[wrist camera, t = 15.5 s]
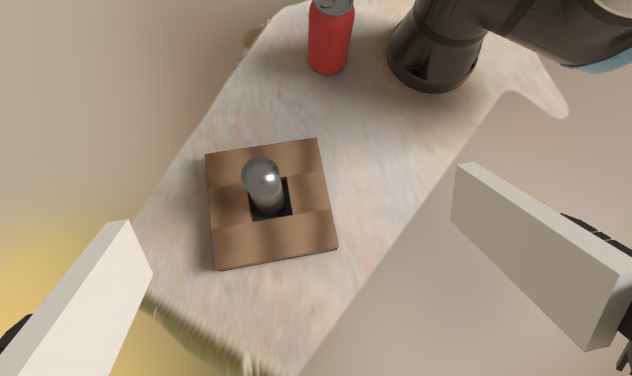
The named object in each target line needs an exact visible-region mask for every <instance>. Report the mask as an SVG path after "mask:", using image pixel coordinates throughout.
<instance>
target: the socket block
mask: <svg viewBox="0 0 632 376" xmlns="http://www.w3.org/2000/svg"><path fill="white" fill-rule="evenodd" d="M255 157H266V158H269V159H271V160H272V161H274V163H275V164H276V165H277V167H278V170H279V175H280V179H281V184H282V189H283V194H284V198H285V208H284V210H283V212H282V213H281V214H280V215H278V216H276V217H266V216H264V215H262V214H261V213H260V212H259V210H258V208H257V207H256V205H255V203H254V201H253V200H252V198H251V196H250V194H249V192H248V191H247V189H246V187H245V185H244V184H243V182H242V179H241V172H242V168H243V166H244V165H245V164H246V163H247V162H248V161H249V160H251V159H253V158H255ZM205 165H206V177H207V188H208V200H209V212H210V224H211V236H212V247H213V259H214V270H217V271H226V270H232V269H237V268H242V267H248V266H253V265H258V264H264V263H269V262H275V261H280V260H285V259H291V258H296V257H301V256H307V255H312V254H318V253H323V252H328V251H334V250H337V249H338V247H339V244H338V239H337V235H336V230H335V225H334V220H333V215H332V210H331V206H330V201H329V196H328V191H327V186H326V182H325V177H324V172H323V167H322V162H321V157H320V153H319V148H318V143H317V138H310V139H303V140H297V141H290V142H283V143H277V144H270V145H263V146H257V147H250V148H243V149H237V150H230V151H223V152H217V153H210V154H205Z"/></svg>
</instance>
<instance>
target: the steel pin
mask: <svg viewBox="0 0 632 376" xmlns="http://www.w3.org/2000/svg"><path fill="white" fill-rule="evenodd" d="M241 179H242V182H243V184H244V185H245V187H246V189H247V191H248V192H249V194H250V196H251V198H252V200H253V201H254V203H255V205H256V207H257V208H258V210H259V212H260V213H261V214H262V215H264V216H266V217H276V216H278V215H280V214H281V213H282V212H283V210H284V208H285V198H284V194H283V189H282V184H281V179H280V175H279V170H278V167H277V165H276V164H275V163H274V161H272V160H271V159H269V158H266V157H255V158H253V159H251V160H249V161H248V162H247V163H246V164H245V165H244V166H243V168H242V172H241Z"/></svg>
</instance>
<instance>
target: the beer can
mask: <svg viewBox="0 0 632 376" xmlns="http://www.w3.org/2000/svg"><path fill="white" fill-rule="evenodd" d="M354 15H355V11H354V6H353V0H313V1H312V3H311V5H310V10H309V31H308V61H309V64H310V65H311V67H312V68H313V69H314V70H315V71H317V72H319V73H321V74H327V75H328V74H334V73H337V72H339V71H340V70H341V69H342V68H343V67H344V65H345V63H346V59H347V53H348V48H349V43H350V38H351V32H352V27H353V22H354Z"/></svg>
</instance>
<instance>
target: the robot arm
mask: <svg viewBox="0 0 632 376" xmlns="http://www.w3.org/2000/svg"><path fill="white" fill-rule="evenodd" d="M488 31H491V32H493V33H495V34H497V35H500V36H502V37H504V38H506V39H508V40H510V41H513V42H515V43H517V44H519V45H521V46H523V47H525V48H527V49H529V50H532V51H534V52H536V53H538V54H540V55H542V56H544V57H546V58H549V59H551V60H553V61H555V62H557V63H559V64H560V65H562V66H564V67H567V68H571V69H576V70H579V71H581V72H584V73H588V74H602V73H607V72H610V71H614V70H617V69H619V68H621V67H624V66H626V65H628V64H630V63H631V62H632V0H416V1H415V3H414V6H413V7H412V9H411V10H410V11H409V12H408V14H407V15H406V16H405V18H404V19H403V20H402V21H401V22H400V23H399V24H398V25H397V26H396V27H395V29H394V30H393V32H392V34H391V37H390V40H389V43H388V46H387V60H388V63H389V66H390V68H391V69H392V71H393V72H394V74H395V75H396V76H397V77H398V78H399V79H400V80H401V81H402V82H403V83H405V84H406V85H408V86H410V87H412V88H414V89H416V90H419V91H423V92H428V93H443V92H448V91H451V90H454V89H456V88H457V87H459V86H460V85H462V84H463V83H464V82H465V81H466V79H467V78H468V77H469V75H470V74H471V73H472V71H473V70H474V68H475V66H476V63H477V60H478V56H479V53H480V50H481V46H482V42H483V39H484V37H485V35H486V34H487V32H488ZM450 220H451V221H452V222H453V223H454V224H455V225H456V226H457V227H458V228H459V229H460V230H461V231H462V232H463V233H464V234H465V235H466V236H467V237H468V238H469V239H470V240H471V241H472V242H473V243H474V244H475V245H476V246H477V247H478V248H479V249H480V250H481V251H482V252H483V253H484V254H485V255H486V256H487V257H488V258H489V259H490V260H491V261H492V262H493V263H494V264H495V265H496V266H497V267H498V268H499V269H500V270H501V271H502V272H503V273H504V274H505V275H506V276H507V277H509V279H510V280H511V281H512V282H513V283H514V284H515V285H516V286H517V287H518V288H520V290H521V291H522V292H523V293H524V294H526V295H527V296H528V297H529V298H530V299H531V300H532V301H533V302H534V303H535V304H536V305H537V306H538V307H539V308H540V309H541V310H542V311H543V312H544V313H545V314H546V315H547V316H548V317H549V318H550V319H551V320H552V321H553V322H554V323H555V324H556V325H557V326H558V327H559V328H560V329H561V330H562V331H563V332H564V333H565V334H566V335H567V336H568V337H569V338H570V339H571V340H572V341H573V342H574V343H575V344H576V345H577V346H578V347H579V348H580V349H581V350H582V351H583V352H587V351H592V350H596V349H600V348H604V347H609V346H610V344H611V342H612V341H613V339H614V337H615V335H616V333H617V331H619V332H620V333H621V334H623V335H624V336H625V337H627V339H629V342H628V344H627V345H626V347H625V349H624V351H623V352H622V354H621V356H620V358H619V360H618V362H617V365H616V370H619V371H622V370H623V368H624V366H625V365H626V363H627V362H629V364H630V368H631V372H630V375H632V250H631V249H629V248H627V247H626V246H624V245H622V244H620V243H619V242H617V241H615V240H611V238H610V237H609V236H607V235H605V234H604V233H602V232H598V230H596V229H595V228H593V227H592V226H590V225H588V224H586V223H585V222H583V221H581V220H578V219H576V218H573V217H570V216H568V215H565V214H562V213H561V214H559V213H557V212H556V211H554V210H552V209H551V208H549V207H548V206H546V205H544V204H543V203H541V202H539V201H538V200H536V199H534V198H533V197H531V196H529V195H528V194H526V193H524V192H523V191H521V190H519V189H518V188H516V187H515V186H513V185H511V184H510V183H508V182H506V181H505V180H503V179H501V178H500V177H498V176H496V175H495V174H493V173H491V172H490V171H488V170H486V169H485V168H483V167H481V166H480V165H478V164H477V163H475V162H470V163H464V164H458V165H457V166H456V174H455V183H454V191H453V200H452V208H451V217H450ZM152 276H153V273H152V270H151V268H150V266H149V264H148V262H147V259H146V257H145V255H144V253H143V251H142V248H141V246H140V244H139V242H138V240H137V237H136V235H135V233H134V231H133V229H132V226H131V224H130V222H129V220H128V219H125V220H120V221H113V222H107V223H106V224H105V225H104V227H103V228H102V229H101V230H100V232H99V233H98V234H97V235H96V237H95V238H94V239H93V240H92V242H91V243H90V244H89V245H88V247H87V248H86V249H85V250H84V251H83V253H82V254H81V255H80V256H79V258H78V259H77V260H76V262H75V263H74V264H73V265H72V266H71V268H70V269H69V270H68V271H67V273H66V274H65V275H64V276H63V278H62V279H61V280H60V281H59V283H58V284H57V285H56V286H55V287H54V289H53V290H52V291H51V292H50V294H49V295H48V296H47V297H46V299H45V300H44V301H43V302H42V304H41V305H40V306H39V307H38V309H37V310H36V311H35V312H34V313H33V314H29V315H26V316H25V317H24V318H23V319H22V320H20V321H19V322H18V323H17V324H15V325H14V326H13V327H12V328H10V329H9V330H8V331H7V332H6V333H5V334H4V335H3V336H2V337H1V339H0V376H109V374H110V371H111V369H112V367H113V365H114V362H115V360H116V358H117V356H118V353H119V351H120V349H121V346H122V344H123V342H124V339H125V337H126V335H127V333H128V331H129V328H130V326H131V324H132V321H133V319H134V317H135V315H136V313H137V310H138V308H139V306H140V303H141V301H142V299H143V297H144V294H145V292H146V290H147V288H148V285H149V283H150V281H151V279H152Z"/></svg>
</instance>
